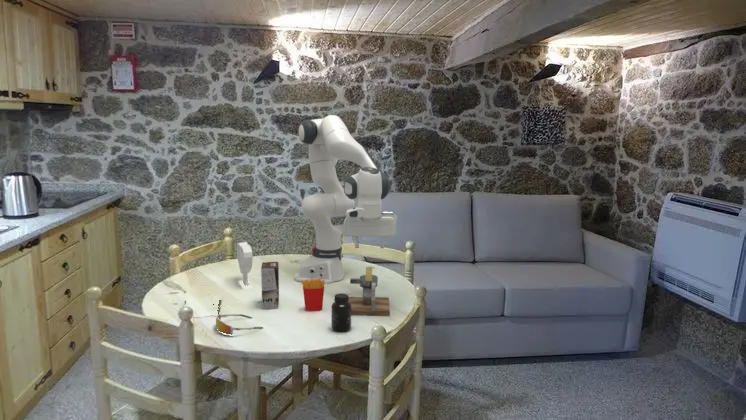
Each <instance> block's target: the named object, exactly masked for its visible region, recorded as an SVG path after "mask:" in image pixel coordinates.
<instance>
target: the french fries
mask: <svg viewBox="0 0 746 420" xmlns="http://www.w3.org/2000/svg"><path fill="white" fill-rule="evenodd" d="M314 281H315V282H314ZM301 284H302V292H303V300H304V309H305V310H304V311H306V312H320V311H323V303H324V296H325V295H324V293H325V284H324V280H323V281H322V282H321V280H320V279H315V280H314V279H310V281H309V282H308V280H305V281H302V282H301Z"/></svg>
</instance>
